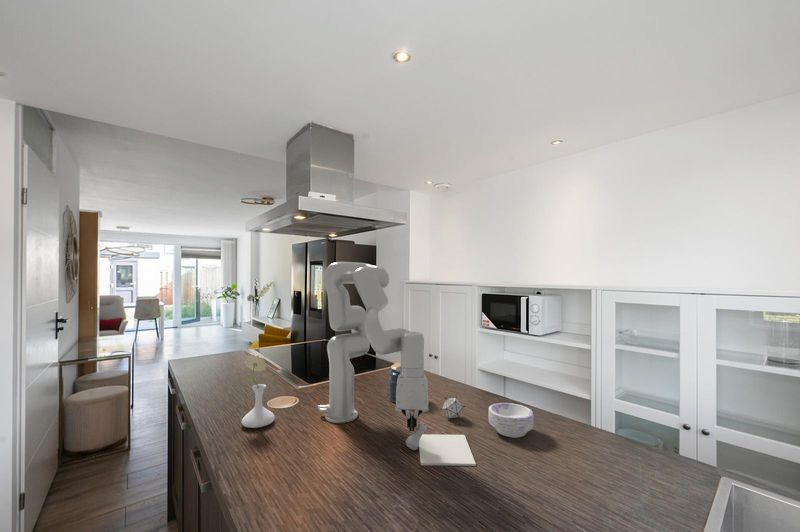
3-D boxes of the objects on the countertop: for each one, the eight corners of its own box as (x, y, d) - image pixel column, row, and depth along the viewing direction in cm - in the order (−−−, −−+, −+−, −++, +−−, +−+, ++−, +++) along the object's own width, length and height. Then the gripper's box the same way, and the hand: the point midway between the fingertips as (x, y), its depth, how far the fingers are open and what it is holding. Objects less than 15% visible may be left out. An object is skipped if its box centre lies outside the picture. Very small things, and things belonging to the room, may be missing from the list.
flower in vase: (281, 421, 129) (282, 354, 130) (257, 433, 119) (258, 361, 120) (256, 414, 135) (257, 350, 135) (230, 426, 125) (232, 356, 125)
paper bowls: (501, 419, 133) (501, 398, 133) (540, 432, 122) (540, 409, 122) (480, 431, 122) (480, 409, 123) (520, 447, 112) (520, 422, 112)
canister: (383, 401, 150) (384, 360, 150) (395, 392, 162) (395, 354, 162) (411, 406, 145) (412, 364, 146) (421, 396, 157) (421, 357, 158)
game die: (456, 429, 132) (464, 414, 126) (435, 419, 134) (442, 404, 128) (461, 410, 139) (469, 396, 134) (441, 401, 141) (448, 386, 135)
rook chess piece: (404, 438, 112) (417, 417, 111) (416, 444, 112) (428, 424, 112) (405, 446, 107) (418, 425, 107) (417, 453, 108) (430, 431, 107)
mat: (420, 465, 101) (420, 462, 101) (417, 435, 119) (418, 434, 119) (475, 465, 100) (475, 463, 100) (464, 436, 118) (464, 434, 118)
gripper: (388, 374, 106) (387, 434, 106) (436, 375, 106) (436, 435, 106) (389, 368, 114) (388, 424, 113) (434, 368, 114) (434, 424, 113)
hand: (411, 429), depth 110 cm, fingers closed
